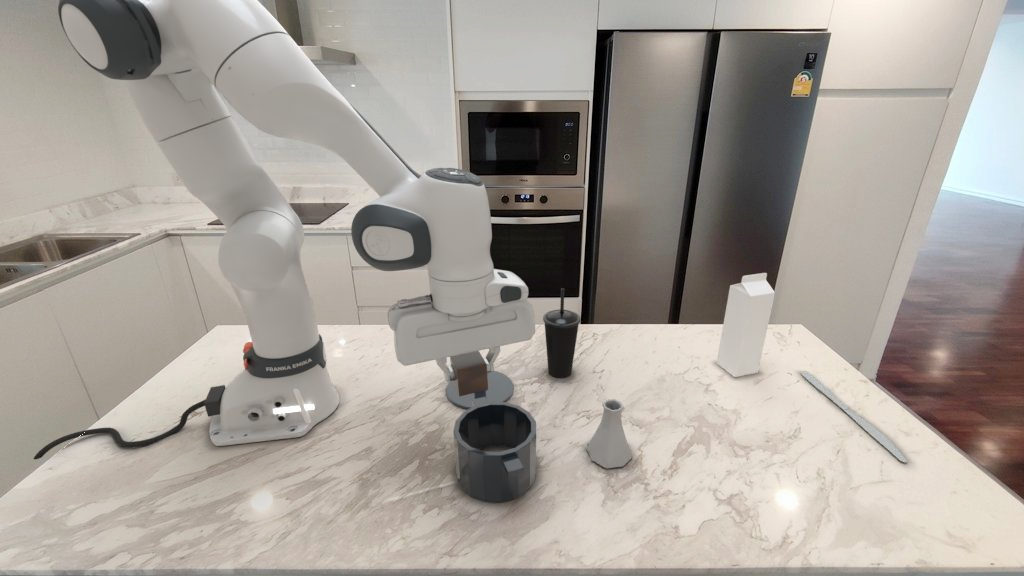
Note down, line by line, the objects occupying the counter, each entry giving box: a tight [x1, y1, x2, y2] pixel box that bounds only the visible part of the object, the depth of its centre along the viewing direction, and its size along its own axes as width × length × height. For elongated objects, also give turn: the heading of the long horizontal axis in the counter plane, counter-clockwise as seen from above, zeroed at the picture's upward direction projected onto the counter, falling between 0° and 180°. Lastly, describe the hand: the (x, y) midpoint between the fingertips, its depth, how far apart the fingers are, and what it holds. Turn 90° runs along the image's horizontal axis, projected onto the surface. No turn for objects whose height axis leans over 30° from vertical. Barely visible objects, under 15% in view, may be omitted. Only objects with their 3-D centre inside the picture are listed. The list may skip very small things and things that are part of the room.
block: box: [449, 351, 488, 396], centre depth 71 cm, size 4×4×4 cm
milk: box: [716, 272, 776, 378], centre depth 101 cm, size 6×6×22 cm
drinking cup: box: [542, 287, 582, 380], centre depth 100 cm, size 8×8×20 cm
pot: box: [452, 397, 537, 504], centre depth 76 cm, size 13×18×9 cm
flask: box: [586, 398, 633, 469], centre depth 79 cm, size 7×7×10 cm
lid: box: [445, 370, 514, 410], centre depth 97 cm, size 14×14×6 cm
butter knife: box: [800, 370, 908, 464], centre depth 90 cm, size 1×27×3 cm
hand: (469, 375), depth 71 cm, fingers closed on block, 4 cm apart
